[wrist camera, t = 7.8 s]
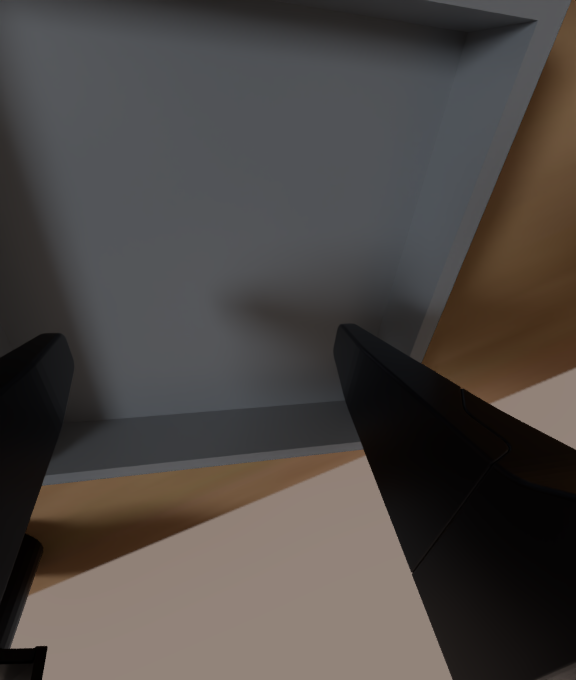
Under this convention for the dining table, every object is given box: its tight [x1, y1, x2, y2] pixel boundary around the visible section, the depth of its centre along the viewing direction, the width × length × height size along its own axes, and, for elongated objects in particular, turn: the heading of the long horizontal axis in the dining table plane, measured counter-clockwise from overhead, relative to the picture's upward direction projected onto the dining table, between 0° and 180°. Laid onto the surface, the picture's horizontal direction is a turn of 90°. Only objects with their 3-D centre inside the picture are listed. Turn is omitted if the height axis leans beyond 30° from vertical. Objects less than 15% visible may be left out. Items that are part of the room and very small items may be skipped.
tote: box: [0, 0, 571, 486], centre depth 11 cm, size 15×15×4 cm
